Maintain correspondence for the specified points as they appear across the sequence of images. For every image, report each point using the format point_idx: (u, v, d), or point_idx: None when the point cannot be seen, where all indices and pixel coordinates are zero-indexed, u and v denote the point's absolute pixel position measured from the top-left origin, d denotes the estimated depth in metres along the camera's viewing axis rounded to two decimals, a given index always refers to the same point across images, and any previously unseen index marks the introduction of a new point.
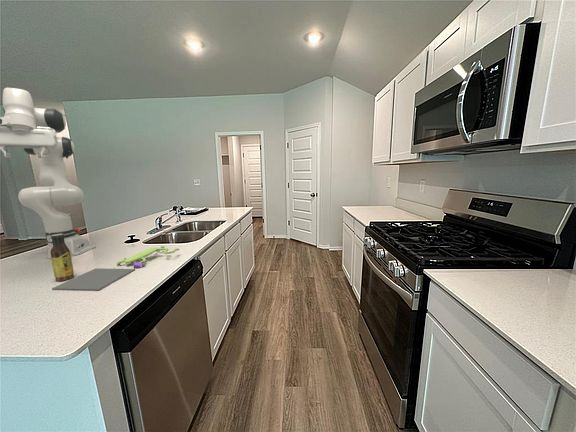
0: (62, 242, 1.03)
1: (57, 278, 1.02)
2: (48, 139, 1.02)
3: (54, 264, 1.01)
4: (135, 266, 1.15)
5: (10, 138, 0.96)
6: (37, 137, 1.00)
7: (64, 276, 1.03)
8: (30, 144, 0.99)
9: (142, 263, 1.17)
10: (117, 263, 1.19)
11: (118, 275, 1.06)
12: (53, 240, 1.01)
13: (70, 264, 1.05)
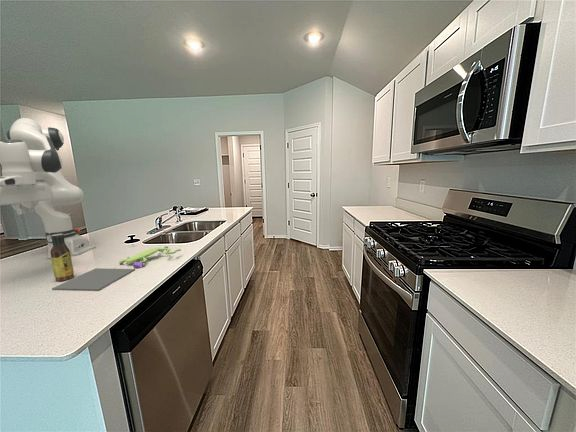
0: (62, 242, 1.03)
1: (57, 278, 1.02)
2: (47, 193, 1.08)
3: (54, 264, 1.01)
4: (135, 266, 1.15)
5: (19, 197, 0.97)
6: (39, 192, 1.04)
7: (64, 276, 1.03)
8: (34, 200, 1.03)
9: (142, 263, 1.16)
10: (119, 262, 1.20)
11: (118, 275, 1.06)
12: (53, 240, 1.01)
13: (70, 264, 1.05)
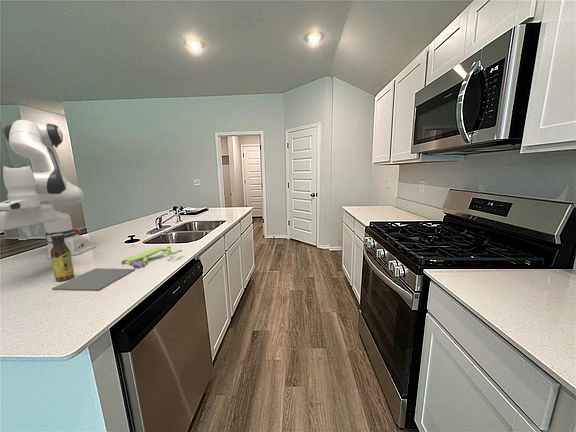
0: (62, 242, 1.03)
1: (57, 278, 1.02)
2: (52, 215, 1.09)
3: (54, 264, 1.01)
4: (135, 266, 1.15)
5: (24, 220, 0.98)
6: (43, 214, 1.06)
7: (64, 276, 1.03)
8: (39, 223, 1.04)
9: (142, 263, 1.16)
10: (121, 261, 1.21)
11: (118, 275, 1.06)
12: (53, 240, 1.01)
13: (70, 264, 1.05)
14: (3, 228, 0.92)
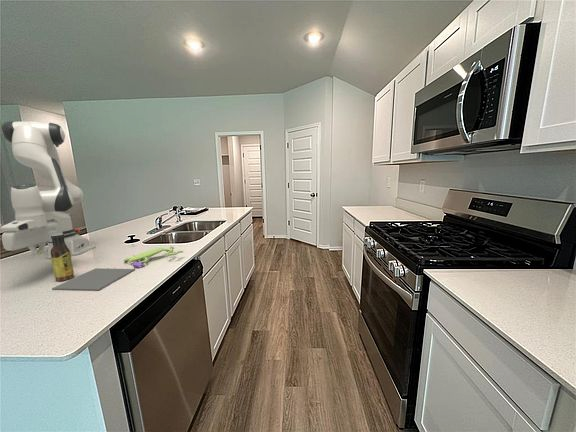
0: (62, 242, 1.03)
1: (57, 278, 1.02)
2: (58, 232, 1.11)
3: (54, 264, 1.01)
4: (134, 266, 1.15)
5: (31, 239, 1.00)
6: (50, 233, 1.07)
7: (64, 276, 1.03)
8: (46, 241, 1.06)
9: (141, 263, 1.16)
10: None
11: (118, 275, 1.06)
12: (53, 240, 1.01)
13: (70, 264, 1.05)
14: (11, 249, 0.94)
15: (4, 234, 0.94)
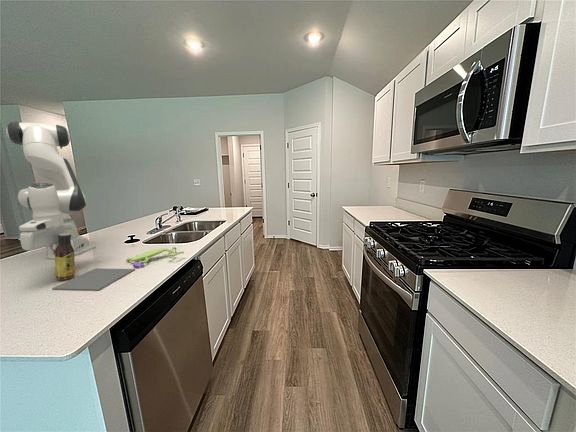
0: (68, 242, 1.03)
1: (57, 277, 1.02)
2: (74, 232, 1.10)
3: (57, 263, 1.01)
4: (134, 266, 1.15)
5: (48, 239, 0.99)
6: (66, 232, 1.06)
7: (65, 276, 1.03)
8: None
9: (141, 264, 1.16)
10: (126, 260, 1.23)
11: (118, 275, 1.06)
12: (60, 239, 1.01)
13: (72, 264, 1.05)
14: (29, 249, 0.93)
15: (22, 234, 0.93)
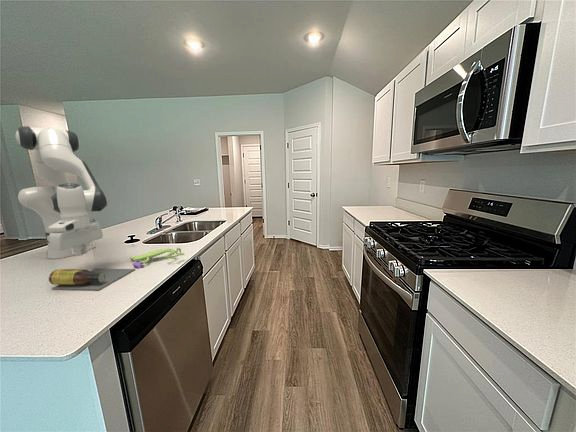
0: None
1: None
2: (99, 232, 1.09)
3: None
4: (134, 266, 1.16)
5: (76, 240, 0.98)
6: (92, 233, 1.06)
7: None
8: (88, 241, 1.04)
9: (140, 264, 1.16)
10: (130, 259, 1.24)
11: (118, 275, 1.06)
12: None
13: None
14: (59, 249, 0.92)
15: (51, 234, 0.92)
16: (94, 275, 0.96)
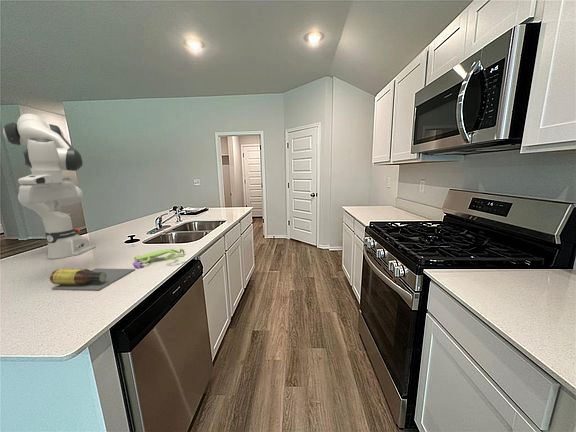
0: None
1: None
2: (73, 192, 1.09)
3: None
4: (134, 265, 1.16)
5: (47, 195, 0.98)
6: (65, 191, 1.05)
7: None
8: (61, 199, 1.04)
9: (140, 264, 1.15)
10: (134, 258, 1.26)
11: (118, 275, 1.06)
12: None
13: None
14: (29, 202, 0.92)
15: (21, 186, 0.92)
16: (95, 274, 0.97)
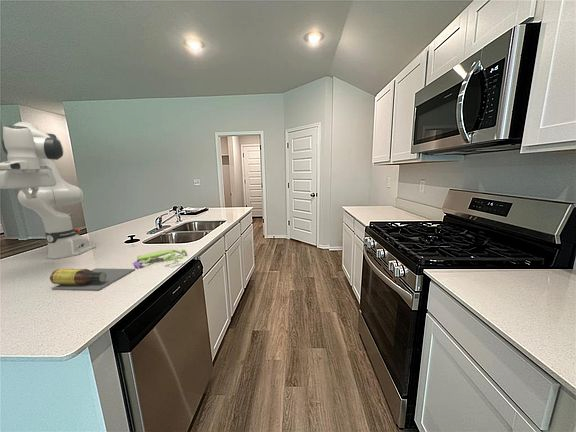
0: None
1: None
2: (51, 180, 1.11)
3: None
4: (134, 265, 1.16)
5: (23, 181, 1.00)
6: (43, 178, 1.07)
7: None
8: (39, 186, 1.06)
9: (139, 264, 1.15)
10: (137, 257, 1.26)
11: (118, 275, 1.06)
12: None
13: None
14: (3, 187, 0.94)
15: None
16: (95, 274, 0.97)
